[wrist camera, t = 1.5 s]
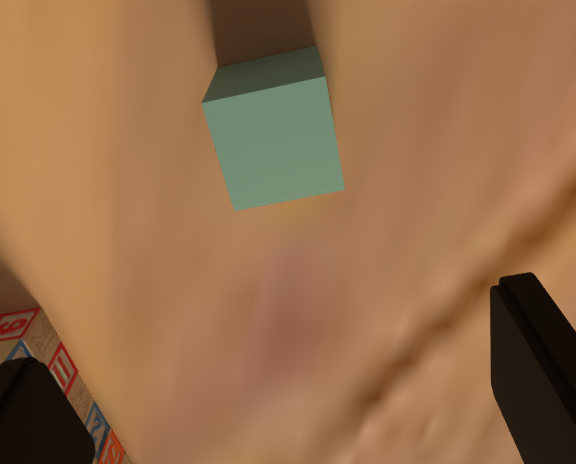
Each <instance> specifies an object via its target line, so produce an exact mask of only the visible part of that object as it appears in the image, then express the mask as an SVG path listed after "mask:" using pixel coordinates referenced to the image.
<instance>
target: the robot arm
mask: <svg viewBox="0 0 576 464" xmlns="http://www.w3.org/2000/svg"><path fill="white" fill-rule="evenodd" d="M490 335H491V385H492V390H493V393H494V397H495V399H496V402H497V404H498V406H499V408H500V410H501V413H502V415H503V417H504V419H505V422H506V424H507V426H508V428H509V431H510V433H511V435H512V437H513V439H514V442H515V444H516V446H517V448H518V451H519V453H520V455H521V457H522V460H523V462H524V464H576V331H575V330H574V329H573V327H572V326H571V324H570V323H569V322H568V320H567V319H566V318H565V316H564V315H563V313H562V312H561V311H560V309H559V308H558V306H557V305H556V304H555V302H554V301H553V299H552V298H551V297H550V295H549V294H548V293H547V291H546V290H545V288H544V287H543V286H542V284H541V283H540V281H539V280H538V279H537V277H536V276H535V275H534V274H533V273H531V272H528V273H522V274H516V275H510V276H504V277H501V278H500V280H499V285H496V286H492V287H491V289H490ZM95 451H96V449H95V442H94V440H93V438H92V436H91V435H90V433H89V432H88V430H87V428H86V427H85V425H84V424H83V422H82V421H81V419H80V417H79V416H78V414H77V413H76V411H75V410H74V408H73V406H72V405H71V403H70V402H69V400H68V399H67V397H66V395H65V394H64V392H63V391H62V389H61V388H60V386H59V384H58V383H57V381H56V380H55V378H54V377H53V375H52V373H51V372H50V370H49V369H48V367H47V366H46V364H45V363H43V362H39V361H38V360H37V359H36V358H34V357H24V358H18V359H13V360H7V361H4V362H2V363H1V364H0V464H92V463H93V460H94V457H95Z"/></svg>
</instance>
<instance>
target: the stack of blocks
mask: <svg viewBox="0 0 576 464" xmlns="http://www.w3.org/2000/svg"><path fill="white" fill-rule="evenodd" d="M24 357H34V358H36V359H37V360H38V361H39V362H43V363H45V364H46V366H47V367H48V369H49V370H50V372H51V373H52V375H53V377H54V378H55V380H56V381H57V383H58V384H59V386H60V388H61V389H62V391H63V392H64V394H65V395H66V397H67V399H68V400H69V402H70V403H71V405H72V406H73V408H74V410H75V411H76V413H77V414H78V416H79V417H80V419H81V421H82V422H83V424H84V425H85V427H86V428H87V430H88V432H89V433H90V435H91V436H92V438H93V440H94V442H95V449H96V451H95V457H94V460H93V463H92V464H131V462H130V460H129V458H128V457H127V455H126V454H125V453H124V450H123V448H122V446H121V444H120V443H119V441H118V439H117V437H116V435H115V434H114V432H113V430H112V429H111V428H109V425H108V423H107V421H106V420H105V418H104V416H103V414H102V413H101V411H100V409H99V408H98V406H97V404H96V403H95V402H94V400H93V398H92V396H91V394H90V393H89V391H88V389H87V387H86V386H85V384H84V382H83V381H82V379H81V377H80V375H79V374H78V370H77V368H76V367H75V365H74V363H73V361H72V360H71V358H70V356H69V354H68V353H67V351H66V349H65V347H64V346H63V344H62V342H61V341H60V338H59V336H58V335H57V333H56V331H55V329H54V328H53V326H52V324H51V322H50V321H49V319H48V317H47V315H46V314H45V312H44V310H43V309H42V308H35V309H29V310H24V311H18V312H12V313H7V314H1V315H0V364H1V363H2V362H4V361H7V360H13V359H18V358H24Z"/></svg>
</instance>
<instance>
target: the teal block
mask: <svg viewBox="0 0 576 464" xmlns="http://www.w3.org/2000/svg"><path fill="white" fill-rule="evenodd" d="M202 107H203V110H204V113H205V116H206V120H207V123H208V126H209V130H210V133H211V136H212V139H213V143H214V146H215V149H216V153H217V156H218V159H219V162H220V166H221V169H222V172H223V176H224V179H225V182H226V185H227V189H228V192H229V195H230V198H231V202H232V205H233V208H234V211H238V210H243V209H248V208H253V207H258V206H263V205H269V204H274V203H279V202H284V201H289V200H295V199H300V198H305V197H310V196H315V195H320V194H326V193H331V192H336V191H341V190H345V187H344V181H343V176H342V170H341V164H340V158H339V152H338V146H337V141H336V135H335V129H334V123H333V117H332V112H331V106H330V100H329V94H328V88H327V83H326V77H325V73H324V70H323V66H322V63H321V59H320V56H319V52H318V49H317V46H312V47H308V48H303V49H299V50H294V51H290V52H285V53H281V54H276V55H272V56H267V57H263V58H258V59H254V60H250V61H245V62H241V63H236V64H232V65H227V66H223V67H218V68H217V70H216V73H215V75H214V77H213V79H212V81H211V83H210V86H209V88H208V90H207V92H206V94H205V97H204V99H203V101H202Z"/></svg>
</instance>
